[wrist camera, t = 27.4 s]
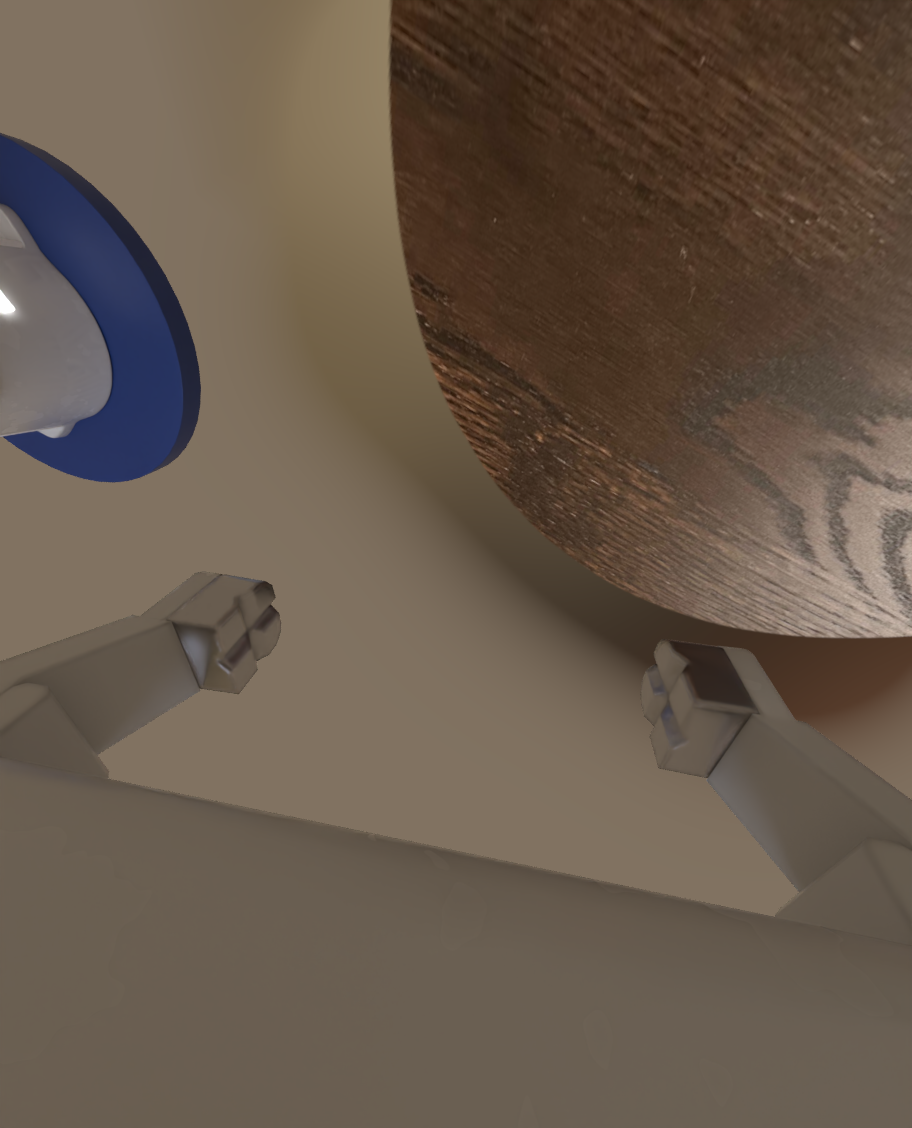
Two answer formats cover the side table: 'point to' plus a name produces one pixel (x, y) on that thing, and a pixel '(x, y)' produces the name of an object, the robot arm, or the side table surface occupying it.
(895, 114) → the side table surface
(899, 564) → the side table surface
